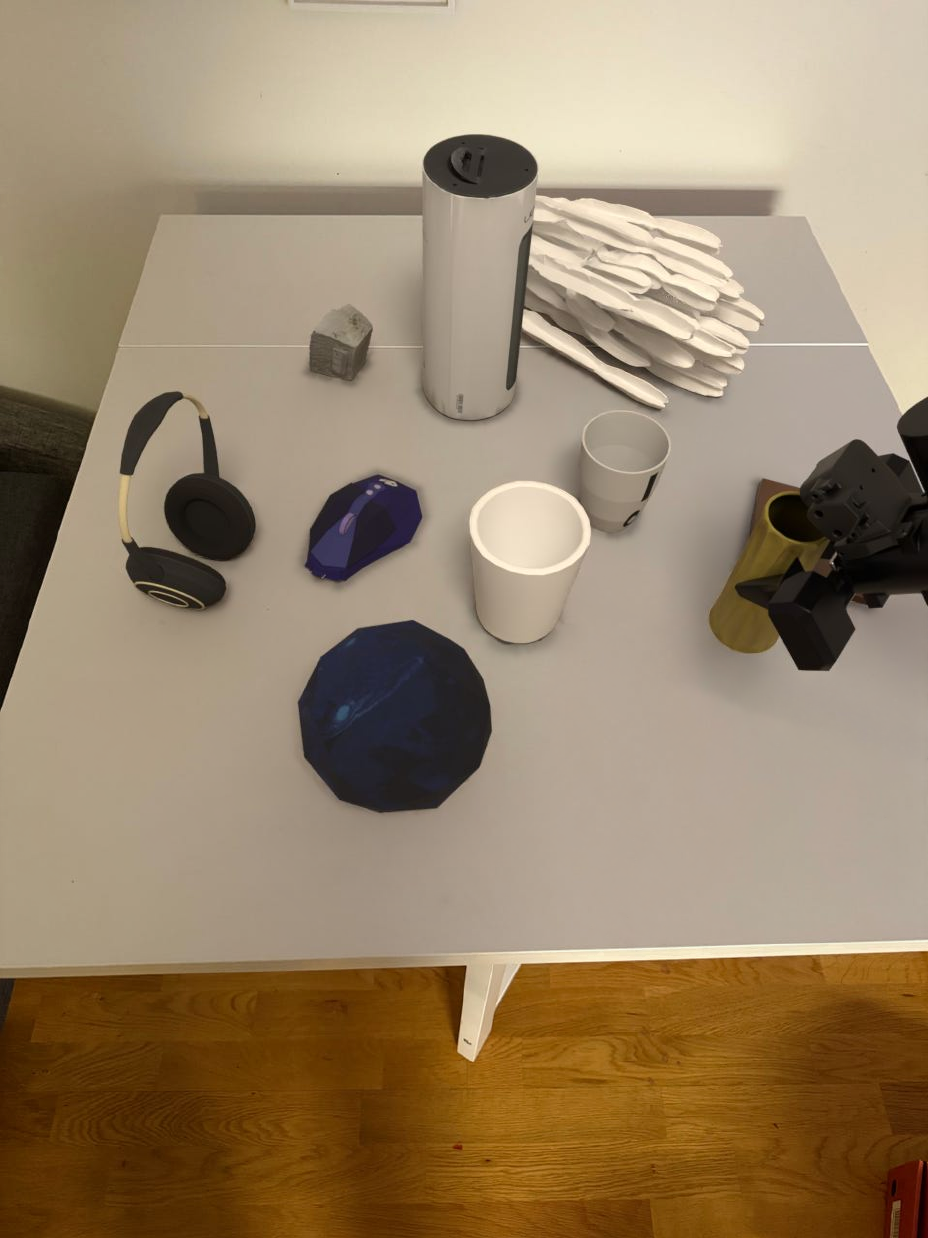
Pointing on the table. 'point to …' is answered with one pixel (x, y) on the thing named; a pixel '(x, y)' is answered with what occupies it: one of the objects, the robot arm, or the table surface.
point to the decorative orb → (395, 718)
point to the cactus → (635, 296)
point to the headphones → (185, 517)
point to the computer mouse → (361, 526)
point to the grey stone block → (340, 343)
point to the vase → (765, 571)
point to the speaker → (475, 270)
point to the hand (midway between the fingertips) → (753, 567)
